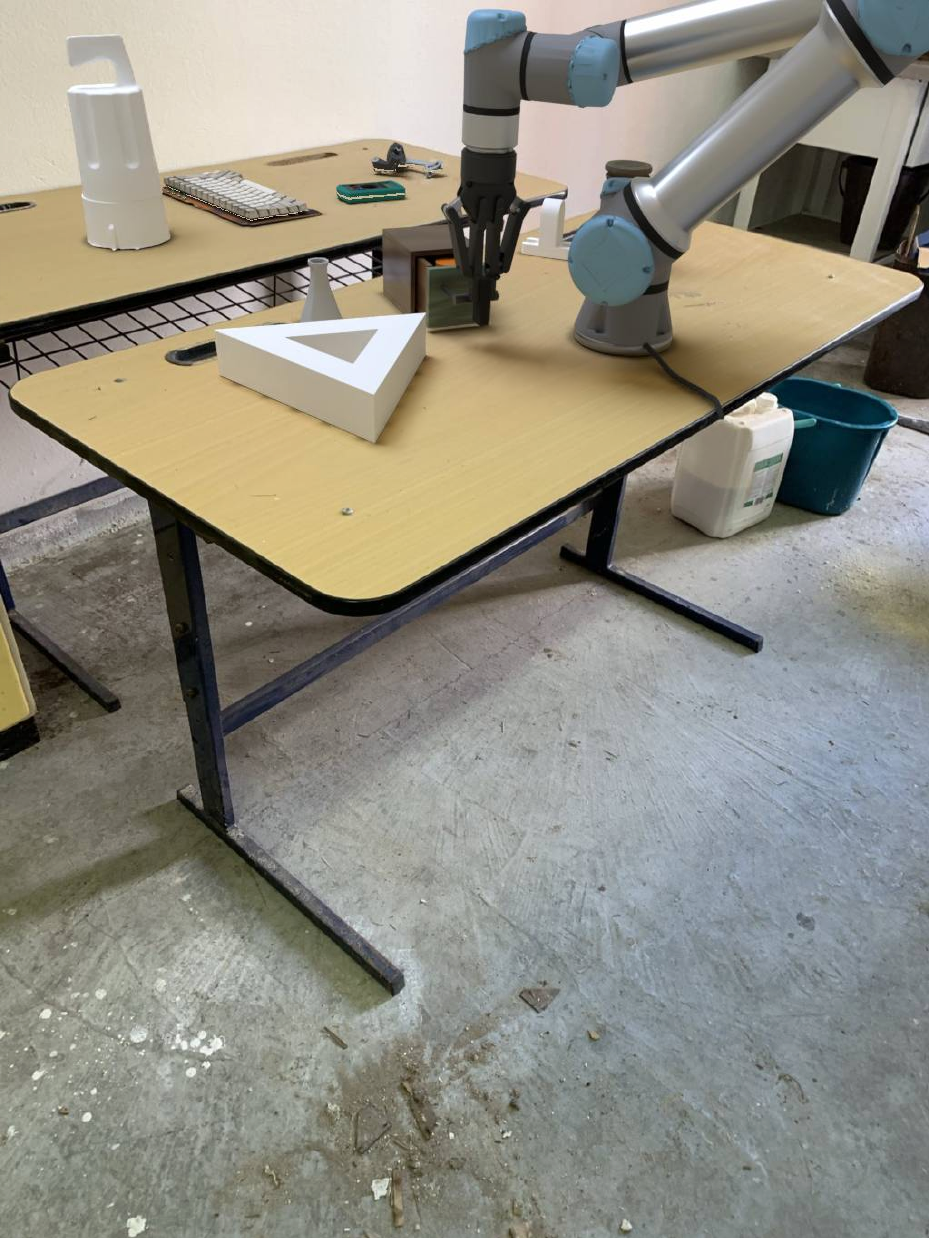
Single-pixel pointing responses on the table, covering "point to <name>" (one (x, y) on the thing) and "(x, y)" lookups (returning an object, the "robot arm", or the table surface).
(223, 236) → the table surface
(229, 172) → the mechanical keyboard
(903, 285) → the table surface
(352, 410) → the triangle block
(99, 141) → the white piece
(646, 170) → the container
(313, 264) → the flask
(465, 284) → the drawer
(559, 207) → the cable organizer
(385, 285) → the cabinet
